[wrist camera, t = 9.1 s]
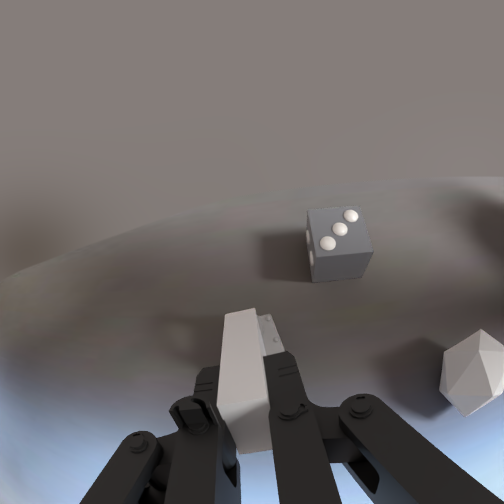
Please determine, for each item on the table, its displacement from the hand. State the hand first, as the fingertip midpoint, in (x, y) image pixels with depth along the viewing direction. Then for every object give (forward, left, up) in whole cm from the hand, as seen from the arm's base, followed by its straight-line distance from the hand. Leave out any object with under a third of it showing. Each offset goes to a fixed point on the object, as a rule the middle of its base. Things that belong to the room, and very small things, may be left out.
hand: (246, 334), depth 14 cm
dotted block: (-15, -5, -16) cm, 22 cm away
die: (-15, +17, -16) cm, 28 cm away
